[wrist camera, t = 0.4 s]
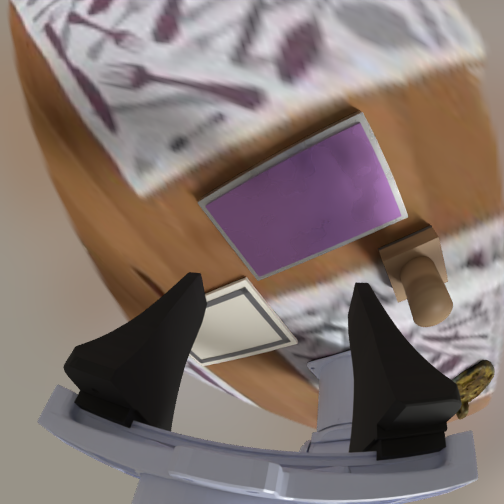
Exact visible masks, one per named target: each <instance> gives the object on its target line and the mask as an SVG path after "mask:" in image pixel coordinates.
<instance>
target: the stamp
mask: <svg viewBox="0 0 504 504" xmlns="http://www.w3.org/2000/svg"><path fill="white" fill-rule="evenodd" d="M378 249H379V252H380V256H381V259H382V262H383V264H384V267H385V269H386V272H387V274H388V277H389V279H390V282H391V285H392V287H393V290H394V292H395V295H396V298H397V301H398V302H401V301H403V300H406V299H407V300H408V303H409V306H410V310H411V313H412V316H413V320H414V322H415V323H416V324H417V325H418V326H421V327H430V326H434V325H437V324H439V323H440V322H442V321H443V320H445V319H446V318H447V317H448V316H449V314H450V313H451V311H452V308H453V302H452V300H451V298H450V295H449V293H448V291H447V289H446V286H445V284H444V283H446V282H448V279H447V273H446V268H445V263H444V258H443V254H442V249H441V245H440V241H439V237H438V235H437V234H436V232H435V231H434V229H433V228H432V226H431V225H430V226H428V227H426V228H423V229H421V230H419V231H417V232H415V233H412V234H410V235H408V236H406V237H403V238H401V239H399V240H397V241H394V242H392V243H390V244H387V245H385V246H383V247H380V248H378Z"/></svg>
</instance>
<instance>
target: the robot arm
mask: <svg viewBox="0 0 504 504" xmlns="http://www.w3.org/2000/svg"><path fill="white" fill-rule="evenodd" d="M206 307H207V301H206V296H205V292H204V287H203V282H202V277H201V273H191V272H189V273H188V274H187V275H185V276H184V277H183V278H182V279H181V280H180V281H179V282H178V283H177V284H176V285H174V286H173V287H172V288H171V289H170V290H169V291H168V292H167V293H166V294H164V295H163V296H162V297H161V298H160V299H159V300H157V301H156V302H155V303H154V304H153V305H151V306H150V307H149V308H148V309H146V310H145V311H144V312H142V313H141V314H140V315H138V316H137V317H135V318H134V319H132V320H131V321H129V322H128V323H126V324H124V325H122V326H121V327H119V328H117V329H116V330H114V331H112V332H110V333H108V334H106V335H104V336H102V337H100V338H97V339H95V340H92V341H90V342H87V343H84V344H81V345H78V346H76V347H75V348H74V350H73V351H72V353H71V355H70V356H69V358H68V359H67V361H66V363H65V365H64V370H65V373H66V374H67V375H68V377H69V378H70V379H71V380H72V381H73V382H74V384H75V385H76V386H77V387H78V388H79V389H80V392H79V394H78V395H77V394H76V393H75V392H73V391H71V390H69V389H67V388H65V387H63V386H60V385H57V386H56V388H55V389H54V391H53V393H52V395H51V397H50V399H49V400H48V402H47V404H46V406H45V408H44V410H43V411H42V413H41V415H40V417H39V420H38V423H39V424H40V425H41V426H42V427H44V428H45V429H46V430H48V431H49V432H50V433H52V434H53V435H54V436H56V437H57V438H59V439H60V440H61V441H63V442H64V443H66V444H68V445H69V446H71V447H73V448H75V449H77V450H79V451H80V452H82V453H84V454H86V455H88V456H90V457H92V458H94V459H96V460H98V461H100V462H102V463H104V464H106V465H108V466H110V467H112V468H115V469H117V470H119V471H121V472H124V473H126V474H128V475H131V476H133V477H136V478H138V479H140V480H139V483H138V486H137V488H136V491H135V494H134V497H133V500H132V503H131V504H403V503H407V502H412V501H417V500H422V499H426V498H430V497H434V496H438V495H441V494H445V493H448V492H451V491H453V490H456V489H458V488H460V487H463V486H465V485H467V484H469V483H472V482H474V481H476V480H477V479H478V472H477V462H476V453H475V447H474V439H473V433H472V431H471V430H470V431H466V432H462V433H457V434H453V435H450V436H447V437H446V438H445V433H444V432H445V431H446V430H447V423H446V422H447V421H448V420H449V419H450V418H451V417H453V416H454V415H455V414H456V413H457V412H458V411H459V409H460V408H461V405H462V402H461V398H460V393H459V390H458V387H457V384H456V383H455V382H453V381H452V380H451V379H449V378H448V377H446V376H445V375H443V374H442V373H441V372H440V371H438V370H437V369H436V368H435V367H434V366H432V365H431V364H430V363H429V362H428V361H427V360H426V359H425V358H424V357H423V356H422V355H420V354H419V353H418V352H417V351H416V350H415V348H414V347H413V346H412V345H411V344H410V343H409V342H408V341H407V340H406V338H405V337H404V336H403V335H402V333H401V332H400V331H399V329H398V328H397V327H396V325H395V324H394V323H393V321H392V320H391V318H390V317H389V315H388V314H387V312H386V311H385V309H384V308H383V306H382V305H381V303H380V301H379V300H378V298H377V297H376V295H375V293H374V291H373V290H372V288H371V286H370V285H369V284H368V283H355V287H354V291H353V296H352V300H351V304H350V308H349V312H348V334H349V341H350V349H351V350H350V351H346V352H343V353H340V354H336V355H333V356H329V357H326V358H322V359H318V360H314V361H311V362H308V363H307V367H308V368H309V369H310V370H311V372H312V373H313V374H314V375H315V376H316V377H317V378H318V379H319V401H318V419H317V432H313V433H312V439H311V440H308V441H306V442H305V443H304V445H303V446H302V447H301V448H300V451H299V452H291V451H278V450H268V449H259V448H251V447H244V446H237V445H231V444H225V443H219V442H214V441H208V440H204V439H199V438H194V437H190V436H186V435H182V434H178V433H174V432H171V427H172V421H173V414H174V409H175V404H176V399H177V395H178V391H179V387H180V382H181V379H182V375H183V371H184V368H185V364H186V362H187V359H188V356H189V354H190V351H191V349H192V347H193V344H194V342H195V339H196V337H197V335H198V332H199V330H200V327H201V325H202V322H203V318H204V315H205V311H206Z"/></svg>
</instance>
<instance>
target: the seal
mask: <svg viewBox="0 0 504 504" xmlns="http://www.w3.org/2000/svg"><path fill="white" fill-rule="evenodd" d="M493 377H494V367H493V365H492V364H491V362H489V361H482V362H480V363H479V364H477V365H475V366H473V367H472V368H470V369H467V370H465V371H464V372H463V373H461V374H460V375H459V376H457V377H456V378H455V379H454V380H453V382H455V383H456V384H457V387H458V390H459V393H460V398H461V402H462V405H461V408H460V409H459V411H458V412H457V413H456V414H457V417H458V418H459V419H463V418H465V417H466V415H467V414H468V408H469V405H468V402H471V401H472V399H474V398H476V397H477V396H478V395H479V394H480V393H481V392H482V391H483V390H484V389H485V388H486V387H487V386H488V384H489V383H490V382H491V380H492V378H493Z"/></svg>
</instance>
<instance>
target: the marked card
mask: <svg viewBox="0 0 504 504" xmlns="http://www.w3.org/2000/svg"><path fill="white" fill-rule="evenodd" d="M205 296H206V301H207V307H206V311H205V315H204V318H203V322H202V325H201V327H200V330H199V332H198V335H197V337H196V339H195V342H194V344H193V347H192V349H191V351H190V354H189V356H190V357H192V358H193V359H194V360H195V361H196V362H198V363H199V364H200V365H201V366H206V365H211V364H216V363H221V362H225V361H230V360H235V359H239V358H243V357H248V356H252V355H256V354H260V353H264V352H268V351H272V350H276V349H280V348H283V347H287V346H291V345H294V344H298V340H297V339H296V338H295V336H294V335H293V334H292V333H291V331H290V330H289V329H288V328H287V327H286V325H285V324H284V323H283V322H282V320H281V319H280V318H279V317H278V316H277V314H276V313H275V312H274V311H273V309H272V308H271V307H270V306H269V304H268V303H267V302H266V301H265V300H264V298H263V297H262V296H261V295H260V293H259V292H258V291H257V290H256V288H255V287H254V286H253V285H252V283H251V282H250V281H249V280H248V278H247V277H245V278H243V279H240V280H238V281H235V282H233V283H230V284H228V285H226V286H223V287H221V288H218V289H216V290H213V291H211V292H208V293H206V294H205Z"/></svg>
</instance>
